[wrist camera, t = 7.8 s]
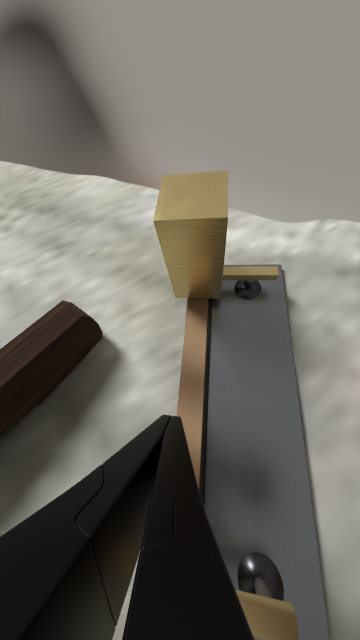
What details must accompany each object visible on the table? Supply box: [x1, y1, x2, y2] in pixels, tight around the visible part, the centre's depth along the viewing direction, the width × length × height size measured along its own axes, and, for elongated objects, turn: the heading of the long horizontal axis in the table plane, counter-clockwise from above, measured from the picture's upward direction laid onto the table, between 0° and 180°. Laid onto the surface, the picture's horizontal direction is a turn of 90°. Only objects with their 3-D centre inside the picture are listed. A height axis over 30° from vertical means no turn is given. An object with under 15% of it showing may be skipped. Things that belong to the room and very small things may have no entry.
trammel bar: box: [177, 298, 299, 640], centre depth 16 cm, size 27×8×4 cm, turn 174°
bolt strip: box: [204, 265, 329, 640], centre depth 17 cm, size 27×7×1 cm, turn 174°
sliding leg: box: [153, 170, 279, 299], centre depth 17 cm, size 4×9×10 cm, turn 84°
